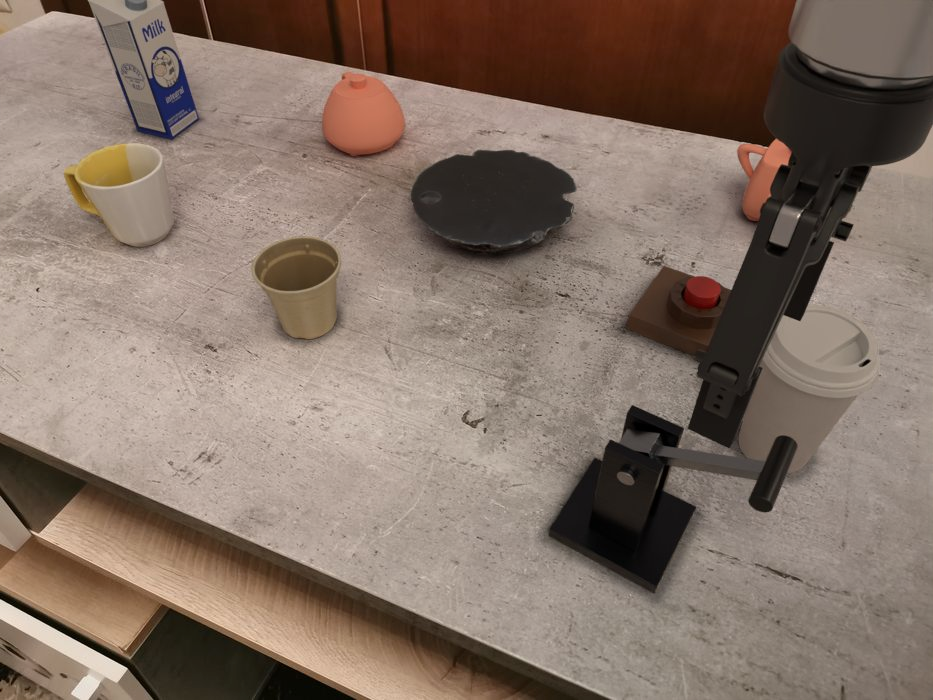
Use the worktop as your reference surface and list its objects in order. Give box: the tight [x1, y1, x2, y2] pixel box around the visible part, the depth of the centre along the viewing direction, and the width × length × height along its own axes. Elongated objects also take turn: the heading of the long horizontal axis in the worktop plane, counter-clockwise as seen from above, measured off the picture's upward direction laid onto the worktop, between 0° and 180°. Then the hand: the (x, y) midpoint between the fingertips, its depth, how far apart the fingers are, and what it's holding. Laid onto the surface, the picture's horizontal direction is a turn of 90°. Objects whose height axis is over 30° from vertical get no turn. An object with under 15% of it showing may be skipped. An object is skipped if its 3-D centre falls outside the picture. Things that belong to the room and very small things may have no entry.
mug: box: [63, 142, 175, 248], centre depth 92 cm, size 14×10×10 cm
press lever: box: [618, 429, 798, 514], centre depth 54 cm, size 12×6×2 cm, turn 57°
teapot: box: [736, 138, 792, 222], centre depth 93 cm, size 14×12×10 cm
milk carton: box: [87, 0, 200, 141], centre depth 108 cm, size 7×7×20 cm
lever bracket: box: [548, 404, 697, 594], centre depth 60 cm, size 10×9×13 cm
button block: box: [625, 265, 732, 357], centre depth 81 cm, size 12×10×4 cm
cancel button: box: [683, 275, 721, 309], centre depth 79 cm, size 4×4×2 cm
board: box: [410, 149, 578, 256], centre depth 94 cm, size 22×22×5 cm
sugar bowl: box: [321, 71, 406, 157], centre depth 107 cm, size 12×14×10 cm
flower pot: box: [251, 235, 342, 340], centre depth 80 cm, size 9×9×9 cm
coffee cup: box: [738, 303, 881, 475], centre depth 65 cm, size 10×10×15 cm
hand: (749, 368), depth 49 cm, fingers open, 13 cm apart
